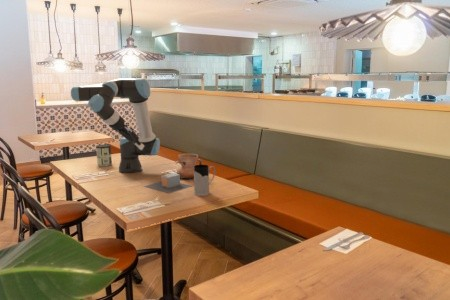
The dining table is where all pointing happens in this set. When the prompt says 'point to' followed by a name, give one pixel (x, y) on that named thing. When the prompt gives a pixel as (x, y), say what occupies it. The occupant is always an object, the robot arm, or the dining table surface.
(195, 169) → the tall grey mug
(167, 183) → the block
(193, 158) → the ceramic jug
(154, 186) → the mat
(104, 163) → the coffee can
